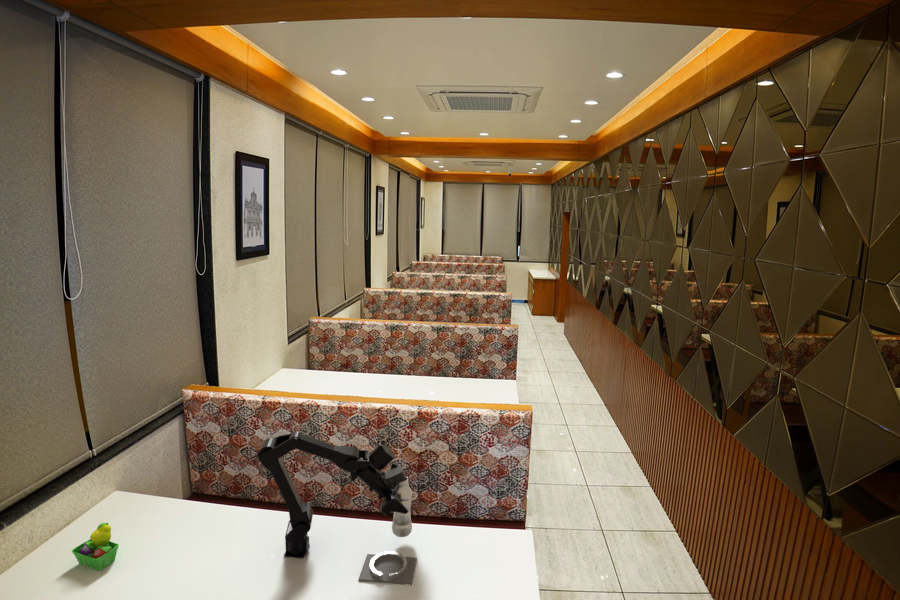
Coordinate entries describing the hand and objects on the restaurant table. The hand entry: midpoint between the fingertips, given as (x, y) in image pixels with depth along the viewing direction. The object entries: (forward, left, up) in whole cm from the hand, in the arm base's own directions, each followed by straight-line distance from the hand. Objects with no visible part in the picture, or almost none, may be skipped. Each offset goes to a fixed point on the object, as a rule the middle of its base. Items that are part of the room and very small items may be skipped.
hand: (406, 507), depth 175 cm
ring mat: (-3, -14, -13) cm, 19 cm away
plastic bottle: (-1, 0, -10) cm, 10 cm away
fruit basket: (-93, -19, -13) cm, 96 cm away
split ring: (-3, -14, -13) cm, 19 cm away
